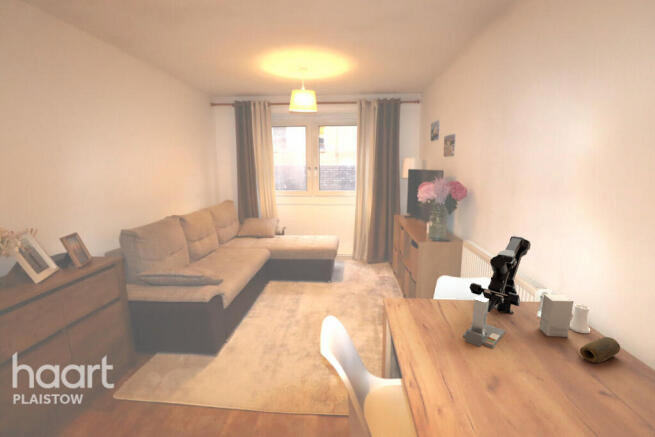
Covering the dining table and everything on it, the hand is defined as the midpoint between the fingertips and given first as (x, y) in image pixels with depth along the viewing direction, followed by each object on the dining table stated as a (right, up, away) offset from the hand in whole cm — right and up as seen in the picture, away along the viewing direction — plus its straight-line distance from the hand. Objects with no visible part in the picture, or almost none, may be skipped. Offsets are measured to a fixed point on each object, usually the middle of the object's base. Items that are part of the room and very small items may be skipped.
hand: (488, 311), depth 130 cm
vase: (+40, -8, +4) cm, 41 cm away
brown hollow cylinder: (+31, -12, -17) cm, 37 cm away
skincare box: (+26, -9, -1) cm, 28 cm away
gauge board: (-4, -8, -4) cm, 10 cm away
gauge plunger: (-6, -8, -8) cm, 13 cm away
